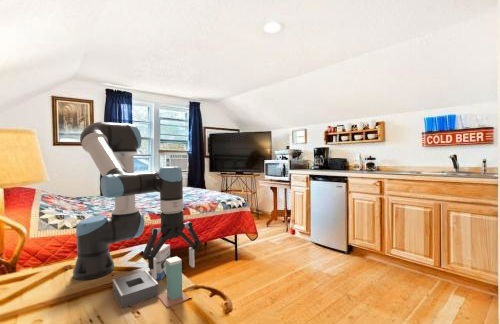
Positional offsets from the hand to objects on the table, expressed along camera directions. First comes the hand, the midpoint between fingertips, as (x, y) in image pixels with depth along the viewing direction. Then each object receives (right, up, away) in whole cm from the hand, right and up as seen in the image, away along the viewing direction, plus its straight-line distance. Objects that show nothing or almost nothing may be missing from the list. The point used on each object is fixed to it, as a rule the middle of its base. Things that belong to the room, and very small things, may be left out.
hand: (174, 271), depth 90 cm
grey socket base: (-15, -9, +4) cm, 18 cm away
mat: (0, -9, 0) cm, 9 cm away
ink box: (-11, -9, +17) cm, 22 cm away
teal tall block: (0, -9, 0) cm, 9 cm away
